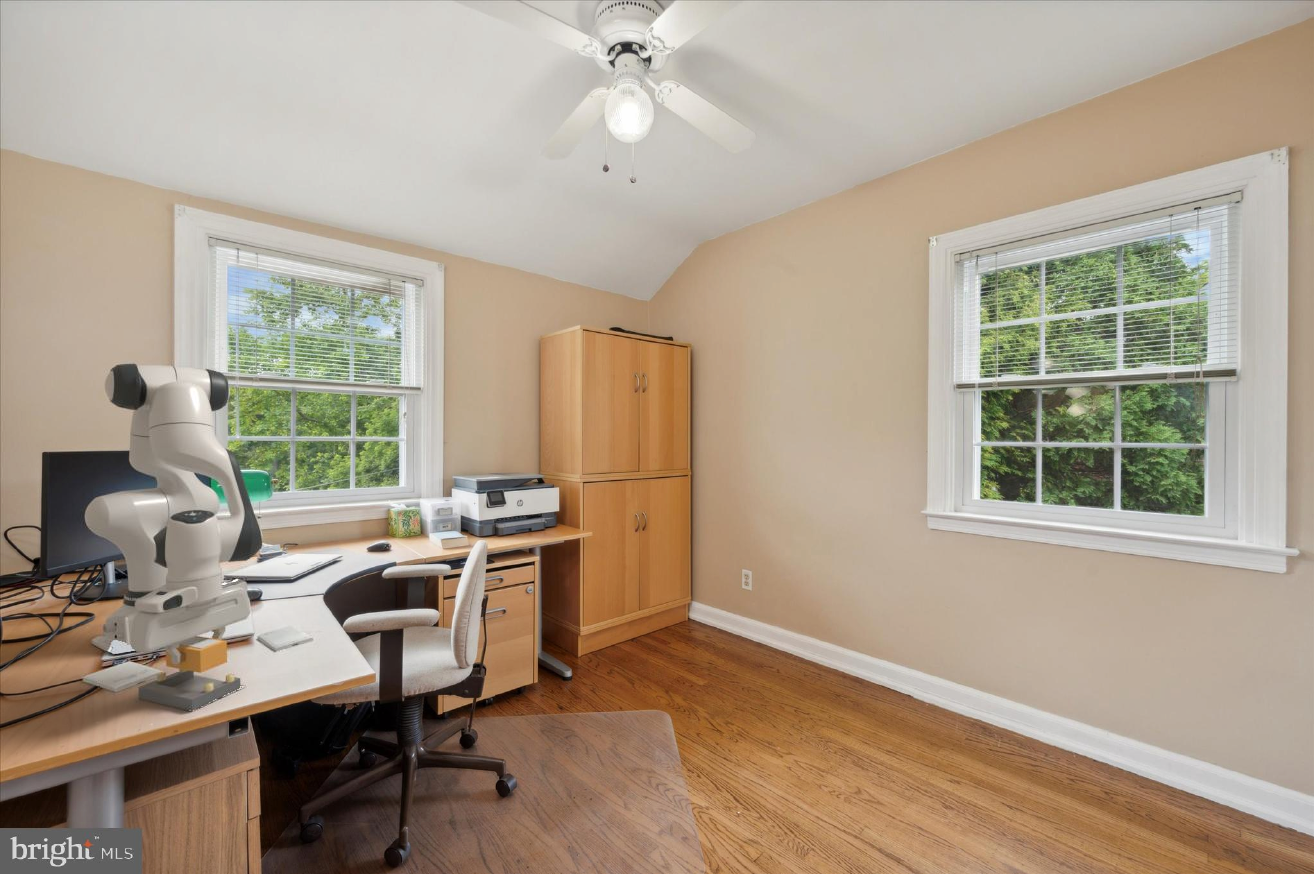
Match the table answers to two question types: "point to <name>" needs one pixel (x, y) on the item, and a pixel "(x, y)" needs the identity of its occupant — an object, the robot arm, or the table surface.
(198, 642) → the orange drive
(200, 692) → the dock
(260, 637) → the hard drive
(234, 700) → the table surface
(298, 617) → the table surface
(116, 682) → the external hard drive
